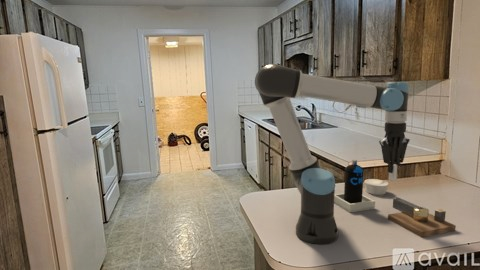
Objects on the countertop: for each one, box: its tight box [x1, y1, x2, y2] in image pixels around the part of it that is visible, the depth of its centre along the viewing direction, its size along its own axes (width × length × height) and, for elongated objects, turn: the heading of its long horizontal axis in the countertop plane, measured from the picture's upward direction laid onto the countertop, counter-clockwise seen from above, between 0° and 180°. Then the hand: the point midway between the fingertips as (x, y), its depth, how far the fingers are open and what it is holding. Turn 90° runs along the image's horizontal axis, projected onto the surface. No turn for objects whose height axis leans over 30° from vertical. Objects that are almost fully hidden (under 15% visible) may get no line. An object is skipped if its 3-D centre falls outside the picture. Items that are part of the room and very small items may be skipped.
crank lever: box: [392, 196, 430, 222], centre depth 124 cm, size 16×5×4 cm, turn 17°
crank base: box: [387, 208, 457, 238], centre depth 119 cm, size 16×16×6 cm
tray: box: [334, 192, 376, 214], centre depth 139 cm, size 13×13×4 cm
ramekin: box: [363, 178, 389, 196], centre depth 156 cm, size 11×11×5 cm
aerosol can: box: [343, 159, 365, 204], centre depth 138 cm, size 8×8×20 cm
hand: (392, 180), depth 124 cm, fingers closed
